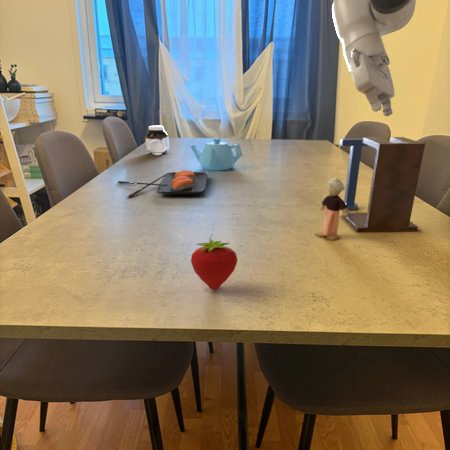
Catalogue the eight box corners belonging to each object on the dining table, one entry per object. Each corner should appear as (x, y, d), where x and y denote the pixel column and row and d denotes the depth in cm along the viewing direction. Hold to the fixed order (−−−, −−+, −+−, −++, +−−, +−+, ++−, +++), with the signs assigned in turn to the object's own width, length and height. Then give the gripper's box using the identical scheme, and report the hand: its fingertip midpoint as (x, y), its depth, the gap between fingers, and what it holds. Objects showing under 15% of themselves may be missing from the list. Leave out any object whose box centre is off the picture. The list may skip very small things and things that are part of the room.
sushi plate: (205, 198, 126) (204, 185, 124) (102, 199, 126) (100, 185, 124) (208, 177, 152) (207, 166, 150) (122, 178, 152) (121, 166, 150)
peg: (360, 205, 118) (369, 137, 110) (365, 210, 114) (376, 140, 106) (331, 205, 118) (338, 138, 110) (336, 210, 114) (344, 140, 106)
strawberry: (238, 297, 70) (238, 238, 65) (191, 298, 69) (188, 239, 65) (236, 281, 75) (236, 226, 70) (192, 282, 75) (190, 227, 70)
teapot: (211, 173, 158) (211, 142, 153) (189, 167, 169) (188, 138, 164) (244, 168, 166) (244, 138, 161) (221, 162, 177) (221, 135, 172)
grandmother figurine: (310, 235, 96) (315, 177, 91) (320, 231, 99) (326, 174, 93) (340, 243, 92) (347, 183, 86) (350, 239, 94) (358, 180, 88)
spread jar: (162, 150, 206) (160, 124, 201) (176, 153, 199) (174, 126, 193) (140, 153, 199) (138, 126, 194) (153, 156, 192) (151, 128, 186)
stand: (396, 215, 109) (411, 136, 100) (417, 231, 99) (435, 143, 90) (342, 216, 109) (351, 137, 100) (357, 232, 98) (369, 144, 89)
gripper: (364, 37, 93) (383, 99, 93) (390, 58, 109) (406, 111, 109) (337, 55, 97) (356, 114, 97) (366, 72, 113) (382, 123, 113)
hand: (383, 112), depth 104 cm, fingers open, 8 cm apart
